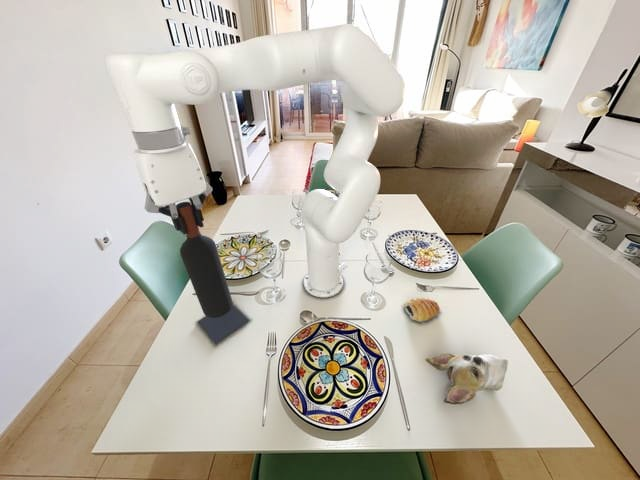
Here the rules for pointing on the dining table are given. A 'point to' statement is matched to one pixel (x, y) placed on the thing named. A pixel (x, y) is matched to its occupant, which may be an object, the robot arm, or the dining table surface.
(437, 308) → the pastry
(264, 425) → the dining table surface
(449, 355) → the ceramic sculpture
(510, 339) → the dining table surface
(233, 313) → the mat
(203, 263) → the wine bottle
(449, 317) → the dining table surface
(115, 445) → the dining table surface
